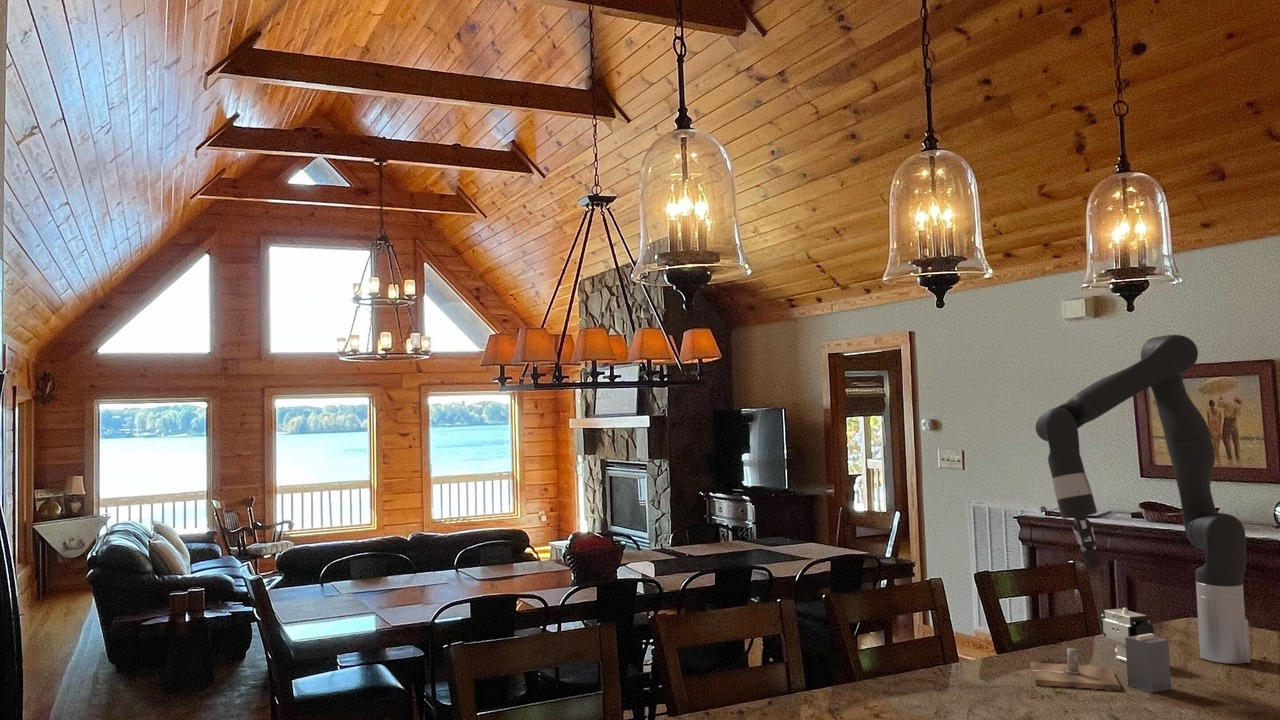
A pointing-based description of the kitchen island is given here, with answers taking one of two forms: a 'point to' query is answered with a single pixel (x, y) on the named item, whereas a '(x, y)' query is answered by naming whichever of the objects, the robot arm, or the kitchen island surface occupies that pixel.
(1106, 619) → the pneumatic valve
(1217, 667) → the kitchen island surface
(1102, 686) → the panel
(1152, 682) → the grey rectangular block
